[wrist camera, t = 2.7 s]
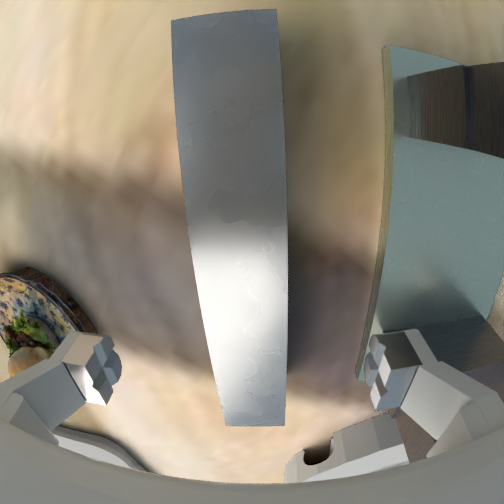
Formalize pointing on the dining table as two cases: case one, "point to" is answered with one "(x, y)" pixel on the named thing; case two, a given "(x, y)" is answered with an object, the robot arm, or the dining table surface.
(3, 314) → the burger
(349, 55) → the dining table surface
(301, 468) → the ashtray
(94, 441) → the tablet
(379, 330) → the bracket stand
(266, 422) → the rail
